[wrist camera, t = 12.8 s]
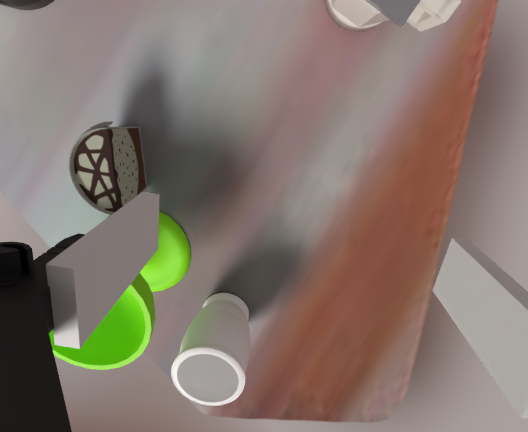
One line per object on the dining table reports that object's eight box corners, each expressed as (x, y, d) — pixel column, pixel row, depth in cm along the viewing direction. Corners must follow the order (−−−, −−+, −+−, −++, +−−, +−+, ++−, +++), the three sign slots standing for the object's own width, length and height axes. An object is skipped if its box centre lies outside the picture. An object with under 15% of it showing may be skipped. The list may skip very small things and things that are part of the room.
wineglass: (188, 297, 61) (150, 378, 44) (99, 283, 61) (28, 359, 45) (193, 213, 55) (151, 270, 39) (95, 199, 56) (11, 249, 39)
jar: (186, 298, 61) (156, 362, 47) (237, 277, 59) (221, 338, 45) (215, 343, 64) (195, 415, 50) (265, 324, 62) (258, 394, 48)
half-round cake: (97, 115, 51) (54, 122, 41) (138, 115, 50) (104, 123, 41) (111, 195, 55) (74, 218, 46) (148, 196, 55) (120, 219, 46)
